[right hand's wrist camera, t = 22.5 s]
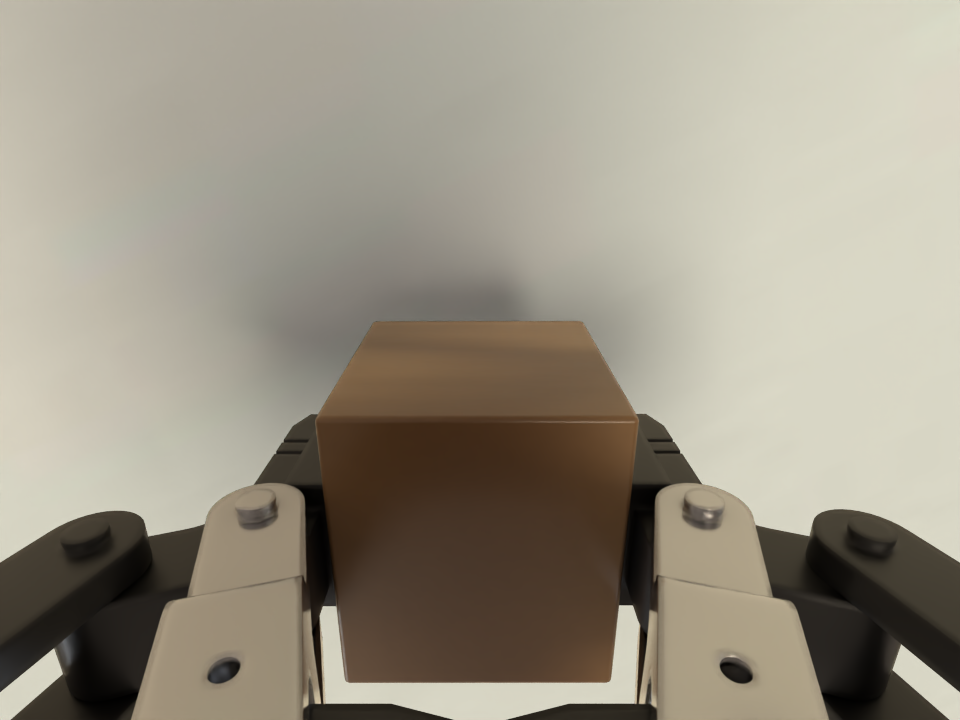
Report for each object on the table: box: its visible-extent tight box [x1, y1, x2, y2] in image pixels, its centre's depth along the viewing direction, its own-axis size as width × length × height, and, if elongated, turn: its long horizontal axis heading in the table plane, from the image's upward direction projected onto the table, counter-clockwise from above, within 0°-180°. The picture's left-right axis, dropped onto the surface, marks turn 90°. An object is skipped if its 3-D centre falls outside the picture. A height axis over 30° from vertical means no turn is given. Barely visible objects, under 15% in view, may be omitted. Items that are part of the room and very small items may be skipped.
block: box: [315, 321, 639, 683], centre depth 10 cm, size 4×5×4 cm
